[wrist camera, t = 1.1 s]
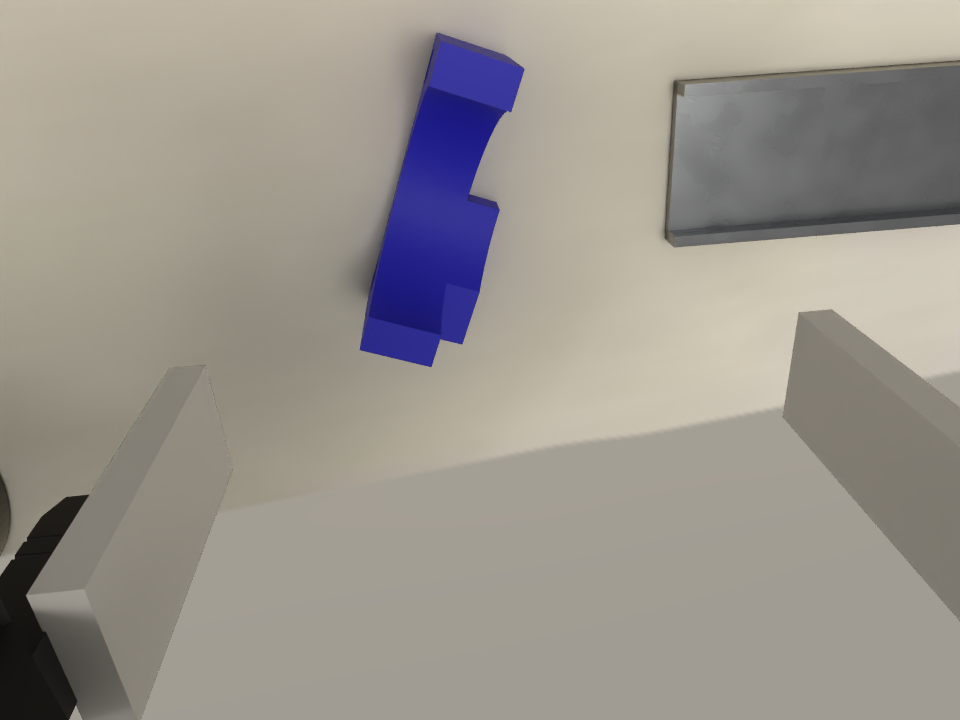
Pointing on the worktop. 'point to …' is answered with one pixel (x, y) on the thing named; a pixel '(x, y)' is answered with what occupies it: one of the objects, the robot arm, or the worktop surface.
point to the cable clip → (440, 207)
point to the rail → (814, 153)
